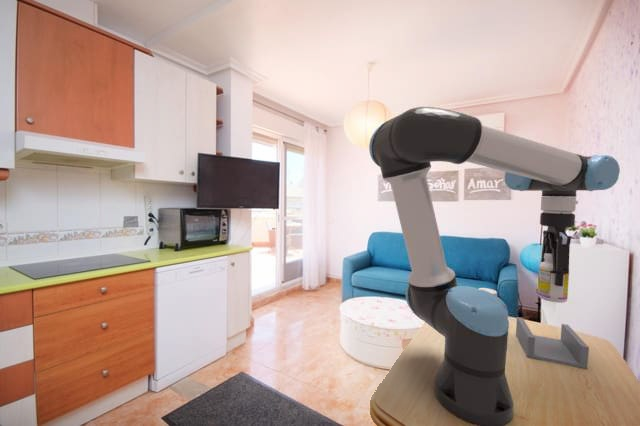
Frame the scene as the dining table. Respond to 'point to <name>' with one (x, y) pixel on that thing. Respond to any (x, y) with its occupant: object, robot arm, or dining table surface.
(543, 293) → the supplement bottle
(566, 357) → the u cradle
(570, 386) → the dining table surface
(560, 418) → the dining table surface
